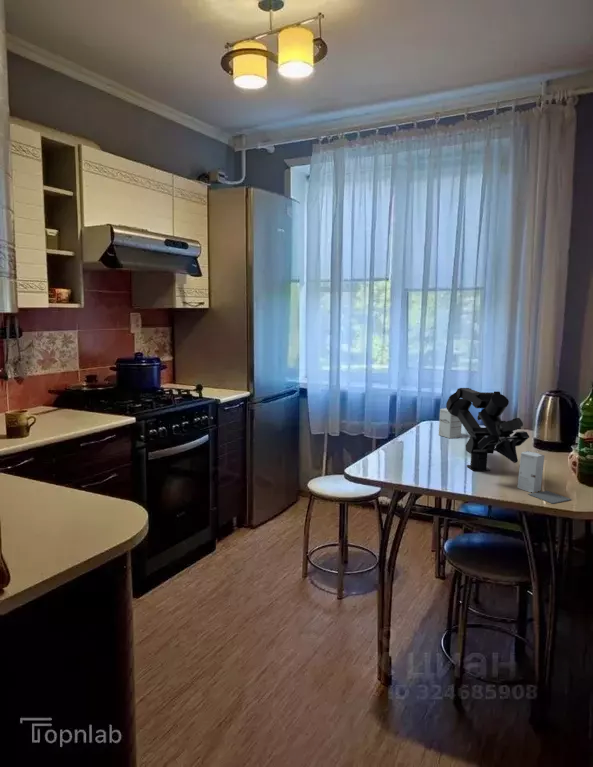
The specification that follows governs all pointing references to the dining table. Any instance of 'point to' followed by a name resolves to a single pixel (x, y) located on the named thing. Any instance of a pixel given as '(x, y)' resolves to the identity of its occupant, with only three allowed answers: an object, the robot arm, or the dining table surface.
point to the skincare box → (530, 471)
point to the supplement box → (449, 425)
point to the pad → (550, 497)
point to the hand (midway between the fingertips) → (516, 462)
